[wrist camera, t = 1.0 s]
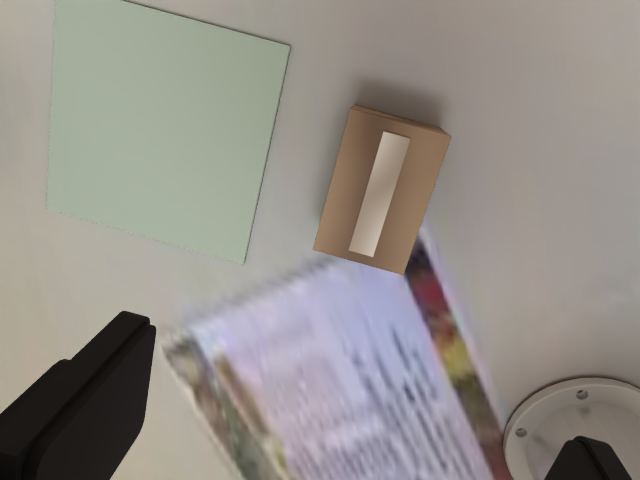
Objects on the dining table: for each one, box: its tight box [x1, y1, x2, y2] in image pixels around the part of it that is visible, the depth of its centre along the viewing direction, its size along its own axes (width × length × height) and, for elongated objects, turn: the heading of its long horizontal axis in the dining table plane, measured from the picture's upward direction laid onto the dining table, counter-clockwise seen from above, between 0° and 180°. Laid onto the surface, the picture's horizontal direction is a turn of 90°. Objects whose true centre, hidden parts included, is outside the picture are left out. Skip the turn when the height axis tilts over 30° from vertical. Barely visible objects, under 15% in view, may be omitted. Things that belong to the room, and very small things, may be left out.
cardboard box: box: [313, 105, 451, 275], centre depth 30 cm, size 6×9×5 cm, turn 166°
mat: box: [46, 0, 291, 265], centre depth 33 cm, size 16×16×1 cm
